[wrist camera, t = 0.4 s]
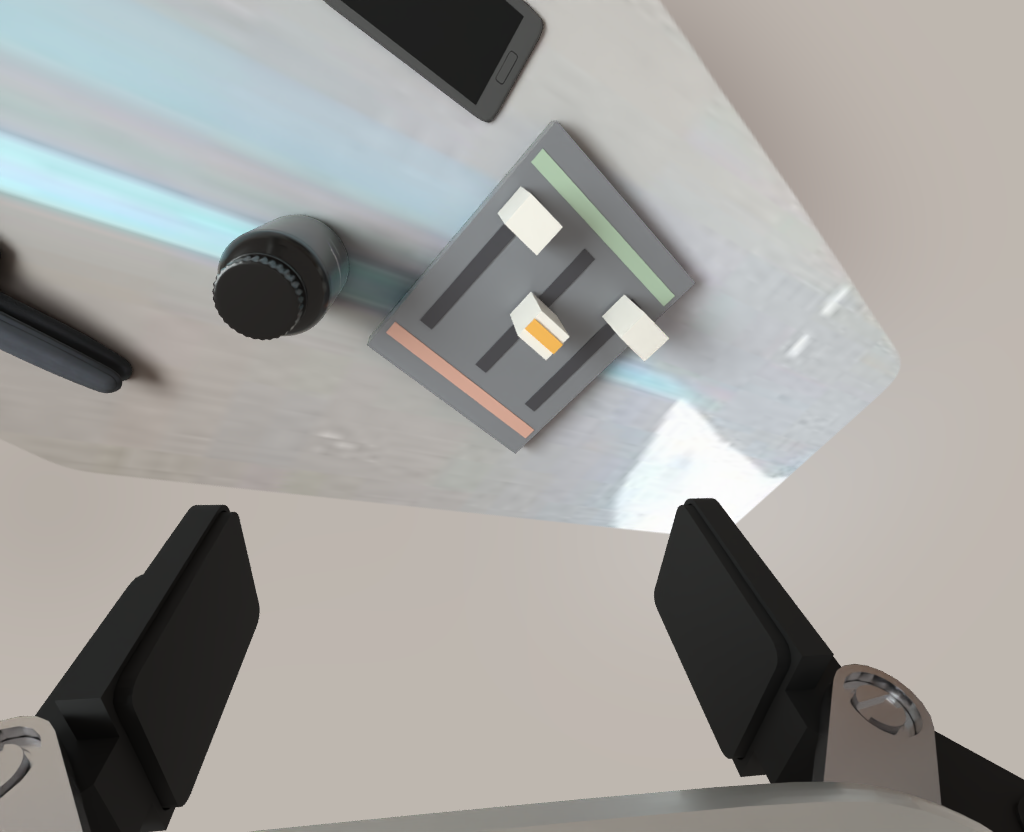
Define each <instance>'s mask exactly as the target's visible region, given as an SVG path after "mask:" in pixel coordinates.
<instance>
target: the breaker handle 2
mask: <svg viewBox="0 0 1024 832" xmlns="http://www.w3.org/2000/svg"><path fill="white" fill-rule="evenodd" d="M602 317H603V318H604V319H605V321H606V322H607V323H608V324H609V325H610V326H611V328H612V329H613V330H614V331H615V332H616V333H617V335H618V336H619V337H620V338H621V339H622V340H623V341H624V342H625V343H626V344H627V345H628V346H629V347H630V348H631V349H632V350H633V351H634V352H635V353H636V354H637V355H638V356H639V357H640V358H641V359H642V360H643V361H644V362H645V361H646V360H647V359H648V358H649V357H650V356H651V355H652V354H653V353H654V352H655V351H656V350H657V349H659V348H660V347H661V346H662V345H663V344H664V343H665V342H666V341H667V340H668V339H669V338H668V337H667V336H666V335H665V334H664V333H663V332H662V330H661V329H660V328H659V327H658V326H657V325H656V324H655V323H654V322H653V321H652V320H651V319H650V318H649V317H648V316H647V315H646V314H645V313H644V312H643V311H642V310H641V309H640V308H639V307H638V306H636V305H635V304H634V303H633V302H632V301H631V300H630V299H629V298H628V297H626V296H625V295H623V296H622V297H621V298H620V299H619V300H618V301H617V302H616V303H615V304H614V305H613V306H612V307H611V308H610V309H609V310H608V311H607V312H606V313H605V314H604V315H603V316H602Z"/></svg>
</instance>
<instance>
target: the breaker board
mask: <svg viewBox="0 0 1024 832" xmlns="http://www.w3.org/2000/svg"><path fill="white" fill-rule="evenodd" d="M520 186H521V187H522V188H524V189H525V190H527V191H528V192H529V193H531V194H532V195H533V196H534V197H535V198H536V199H537V200H538V201H539V202H540V203H541V205H542V206H543V207H544V208H545V209H546V210H547V211H548V212H549V213H550V214H551V215H552V216H553V217H554V218H555V219H556V220H557V221H558V222H559V223H560V224H561V226H562V228H561V230H560V231H559V232H558V233H557V234H556V235H555V236H554V237H553V238H552V239H551V241H550V242H549V243H548V244H547V245H546V246H545V247H544V248H543V249H542V250H541V251H540V253H539V254H538V255H536V254H535V253H534V252H533V251H532V250H531V249H530V248H529V247H528V246H526V245H525V244H524V243H523V242H522V241H521V240H520V239H519V238H518V237H517V236H516V235H515V234H514V233H513V232H512V231H511V230H510V229H509V228H508V227H507V226H506V225H505V224H504V222H503V221H502V219H501V218H500V216H499V215H498V212H499V211H500V210H501V209H502V207H503V206H504V205H505V204H506V203H507V202H508V200H509V199H510V198H511V197H512V196H513V195H514V193H515V192H516V191H517V190H518V189H519V188H520ZM694 284H695V282H694V280H693V279H692V278H691V277H690V276H689V275H688V273H687V272H686V271H685V270H684V269H683V268H682V266H681V265H680V264H679V263H678V262H677V261H676V259H675V258H674V257H673V256H672V255H671V254H670V252H669V251H668V250H667V249H666V248H665V247H664V245H663V244H662V243H661V242H660V241H659V240H658V238H657V237H656V236H655V235H654V234H653V233H652V231H651V230H650V229H649V228H648V227H647V225H646V224H645V223H644V222H643V221H642V220H641V218H640V217H639V216H638V215H637V214H636V213H635V211H634V210H633V209H632V208H631V207H630V206H629V204H628V203H627V202H626V201H625V200H624V199H623V197H622V196H621V195H620V194H619V193H618V192H617V190H616V189H615V188H614V187H613V186H612V185H611V183H610V182H609V181H608V180H607V179H606V178H605V176H604V175H603V174H602V173H601V172H600V171H599V169H598V168H597V167H596V166H595V165H594V163H593V162H592V161H591V160H590V159H589V158H588V156H587V155H586V154H585V153H584V152H583V151H582V149H581V148H580V147H579V146H578V145H577V144H576V142H575V141H574V140H573V139H572V138H571V137H570V135H569V134H568V133H567V132H566V131H565V130H564V128H563V127H562V126H561V125H560V124H559V123H558V121H551V122H550V123H549V124H548V126H547V127H546V128H545V129H544V130H543V132H542V133H541V134H540V135H539V136H538V138H537V139H536V140H535V141H534V142H533V143H532V145H531V146H530V147H529V148H528V149H527V151H526V152H525V153H524V154H523V155H522V157H521V158H520V159H519V160H518V161H517V162H516V164H515V165H514V166H513V167H512V168H511V170H510V171H509V172H508V173H507V174H506V176H505V177H504V178H503V179H502V180H501V181H500V183H499V184H498V185H497V186H496V187H495V189H494V190H493V191H492V192H491V193H490V195H489V196H488V197H487V198H486V199H485V200H484V202H483V203H482V204H481V205H480V206H479V208H478V209H477V210H476V211H475V212H474V214H473V215H472V216H471V217H470V218H469V219H468V221H467V222H466V223H465V224H464V225H463V227H462V228H461V229H460V230H459V231H458V233H457V234H456V235H455V236H454V237H453V238H452V240H451V241H450V242H449V243H448V244H447V246H446V247H445V248H444V249H443V250H442V252H441V253H440V254H439V255H438V256H437V257H436V259H435V260H434V261H433V262H432V263H431V265H430V266H429V267H428V268H427V269H426V271H425V272H424V273H423V274H422V275H421V276H420V278H419V279H418V280H417V281H416V282H415V284H414V285H413V286H412V287H411V288H410V290H409V291H408V292H407V293H406V294H405V295H404V297H403V298H402V299H401V300H400V301H399V303H398V304H397V305H396V306H395V307H394V309H393V310H392V311H391V312H390V313H389V314H388V316H387V317H386V318H385V319H384V320H383V322H382V323H381V324H380V325H379V326H378V328H377V329H376V330H375V331H374V332H373V333H372V335H371V336H370V338H369V341H368V344H367V345H368V346H369V347H370V348H372V349H373V350H374V351H376V352H377V353H378V354H380V355H381V356H383V357H384V358H385V359H387V360H388V361H389V362H391V363H392V364H394V365H395V366H396V367H398V368H399V369H400V370H402V371H403V372H404V373H406V374H407V375H409V376H410V377H411V378H413V379H414V380H415V381H417V382H418V383H419V384H421V385H422V386H424V387H425V388H426V389H428V390H429V391H430V392H432V393H433V394H434V395H436V396H437V397H439V398H440V399H441V400H443V401H444V402H445V403H447V404H448V405H449V406H451V407H452V408H454V409H455V410H456V411H458V412H459V413H460V414H462V415H463V416H464V417H466V418H467V419H469V420H470V421H471V422H473V423H474V424H475V425H477V426H478V427H479V428H481V429H482V430H484V431H485V432H486V433H488V434H489V435H490V436H492V437H493V438H495V439H496V440H497V441H499V442H500V443H501V444H503V445H504V446H505V447H507V448H508V449H510V450H511V451H512V452H514V453H515V454H516V453H517V452H518V451H519V450H520V449H521V448H522V447H523V446H524V445H525V444H526V443H527V442H528V441H529V440H530V439H531V438H532V437H534V436H535V435H536V434H537V433H538V432H539V431H540V430H541V429H542V428H543V427H544V426H545V425H546V424H547V423H548V422H549V421H550V420H551V419H553V418H554V417H555V416H556V415H557V414H558V413H559V412H560V411H561V410H562V409H563V408H564V407H565V406H566V405H567V404H568V403H569V402H570V401H571V400H573V399H574V398H575V397H576V396H577V395H578V394H579V393H580V392H581V391H582V390H583V389H584V388H585V387H586V386H587V385H588V384H589V383H590V382H592V381H593V380H594V379H595V378H596V377H597V376H598V375H599V374H600V373H601V372H602V371H603V370H604V369H605V368H606V367H607V366H608V365H609V364H610V363H612V362H613V361H614V360H615V359H616V358H617V357H618V356H619V355H620V354H621V353H622V352H623V351H624V350H625V349H626V348H627V347H628V345H627V344H626V343H625V342H624V341H623V340H622V339H621V338H620V337H619V336H618V335H617V333H616V332H615V331H614V330H613V329H612V328H611V326H610V325H609V324H608V323H607V322H606V321H605V319H604V318H603V317H602V316H603V315H604V314H605V313H606V312H607V311H608V310H609V309H610V308H611V307H612V306H613V305H614V304H615V303H616V302H617V301H618V300H619V299H620V298H621V297H622V296H623V295H625V296H626V297H628V298H629V299H630V300H631V301H632V302H633V303H634V304H635V305H636V306H638V307H639V308H640V309H641V310H642V311H643V312H644V313H645V314H646V315H647V316H648V317H649V318H650V319H651V320H652V321H653V322H655V321H656V320H657V319H658V318H659V317H660V316H661V315H662V314H663V313H664V312H665V311H666V310H667V309H668V308H670V307H671V306H672V305H673V304H674V303H675V302H676V301H677V300H678V299H679V298H680V297H681V296H682V295H683V294H684V293H685V292H686V291H687V290H688V289H690V288H691V287H692V286H693V285H694ZM530 292H532V293H533V294H534V295H535V296H536V297H537V298H538V299H540V300H541V301H542V302H543V303H544V304H545V305H546V306H547V307H548V308H549V309H550V310H551V311H552V312H553V313H555V314H556V315H557V317H558V319H559V320H560V322H561V323H562V325H563V327H564V328H565V330H566V332H567V333H568V335H569V336H570V337H569V338H568V339H567V340H566V341H565V342H564V343H563V345H562V346H561V347H560V348H559V349H558V350H557V351H556V352H555V353H554V354H552V355H551V356H550V357H549V358H548V359H547V360H545V359H544V358H543V357H542V356H541V355H539V354H538V353H537V352H536V351H535V350H534V349H533V348H531V347H530V346H529V345H528V344H527V343H526V342H524V341H523V340H522V339H521V338H520V337H519V336H518V335H517V332H516V330H515V327H514V324H513V321H512V319H511V316H510V314H511V312H512V311H513V310H514V309H515V308H516V307H517V306H518V305H519V304H520V303H521V302H522V301H523V300H524V299H525V297H526V296H527V295H528V294H529V293H530Z"/></svg>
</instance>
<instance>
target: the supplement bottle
mask: <svg viewBox="0 0 1024 832" xmlns="http://www.w3.org/2000/svg"><path fill="white" fill-rule="evenodd" d="M348 273H349V260H348V255H347V252H346V249H345V247H344V245H343V243H342V241H341V240H340V238H339V237H338V236H337V234H336V233H335V232H334V231H333V230H332V229H331V228H330V227H328V226H327V225H326V224H324V223H323V222H321V221H319V220H317V219H315V218H312V217H309V216H304V215H288V216H283V217H280V218H277V219H275V220H273V221H270V222H268V223H266V224H264V225H262V226H260V227H257V228H255V229H253V230H251V231H249V232H247V233H244V234H243V235H241V236H239V237H238V238H236V239H235V240H233V241H232V242H231V243H230V244H229V245H228V246H227V248H226V249H225V250H224V252H223V254H222V256H221V258H220V261H219V265H218V275H217V276H216V281H215V282H214V283H213V285H214V289H213V291H212V292H213V295H214V296H213V300H214V302H215V308H216V309H217V310H218V313H219V315H220V316H221V317H222V318H223V320H224V322H225V323H227V324H228V325H229V326H230V328H232V329H235V330H236V331H237V332H238V333H240V334H243V335H244V336H246V337H251V338H253V339H260V340H265V339H268V340H271V339H273V338H279V337H280V336H292V335H297V334H300V333H303V332H305V331H307V330H309V329H311V328H312V327H314V326H315V325H316V324H317V323H318V322H319V321H320V320H321V319H322V318H323V316H324V315H325V314H326V312H327V311H328V309H329V308H330V306H331V305H332V303H333V302H334V300H335V299H336V298H337V296H338V295H339V293H340V292H341V290H342V288H343V287H344V285H345V283H346V280H347V277H348Z"/></svg>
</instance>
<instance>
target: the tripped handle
mask: <svg viewBox="0 0 1024 832" xmlns="http://www.w3.org/2000/svg"><path fill="white" fill-rule="evenodd" d="M510 316H511V319H512V321H513V324H514V327H515V330H516V332H517V335H518V336H519V337H520V338H521V339H522V340H523V341H524V342H526V343H527V344H528V345H529V346H530V347H531V348H533V349H534V350H535V351H536V352H537V353H538V354H539V355H541V356H542V357H543V358H544V359H545V360H547V359H548V358H549V357H550V356H551V355H552V354H554V353H555V352H556V351H557V350H558V349H559V348H560V347H561V346H562V345H563V343H564V342H565V341H566V340H567V339H568V338H569V337H570V336H569V335H568V333H567V332H566V330H565V328H564V327H563V325H562V323H561V322H560V320H559V319H558V317H557V315H556V314H555V313H553V312H552V311H551V310H550V309H549V308H548V307H547V306H546V305H545V304H544V303H543V302H542V301H541V300H540V299H538V298H537V297H536V296H535V295H534V294H533V293H532V292H530V293H529V294H528V295H527V296H526V297H525V299H524V300H523V301H522V302H521V303H520V304H519V305H518V306H517V307H516V308H515V309H514V310H513V311H512V312H511V314H510Z"/></svg>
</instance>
